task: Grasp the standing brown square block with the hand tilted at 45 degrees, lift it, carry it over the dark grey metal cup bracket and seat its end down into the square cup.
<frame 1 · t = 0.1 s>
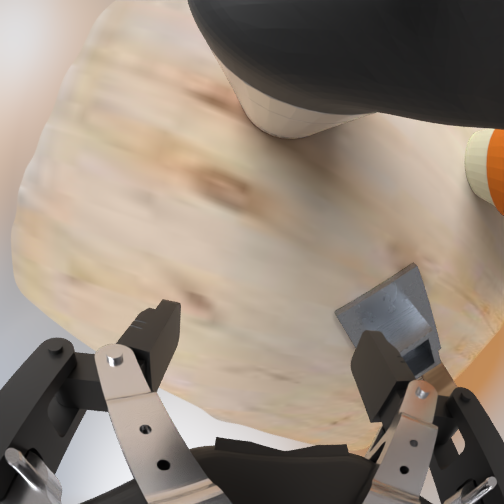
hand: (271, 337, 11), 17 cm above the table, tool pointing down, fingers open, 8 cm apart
reusable coffee cup: (486, 164, 23), on the table
brown square block: (430, 368, 34), on the table
cup bracket: (395, 331, 31), on the table
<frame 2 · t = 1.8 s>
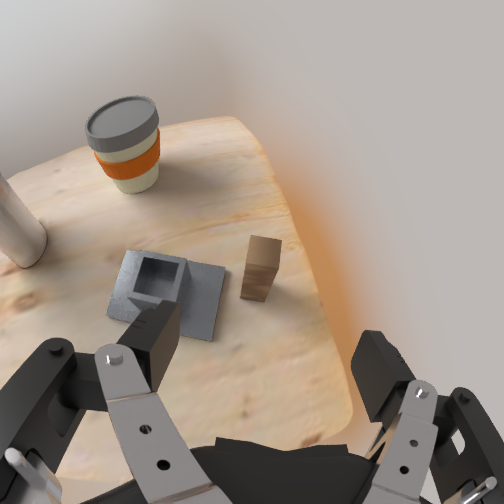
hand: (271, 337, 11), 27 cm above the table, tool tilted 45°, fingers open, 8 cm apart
reusable coffee cup: (137, 176, 49), on the table
brown square block: (253, 288, 41), on the table
cup bracket: (165, 294, 39), on the table
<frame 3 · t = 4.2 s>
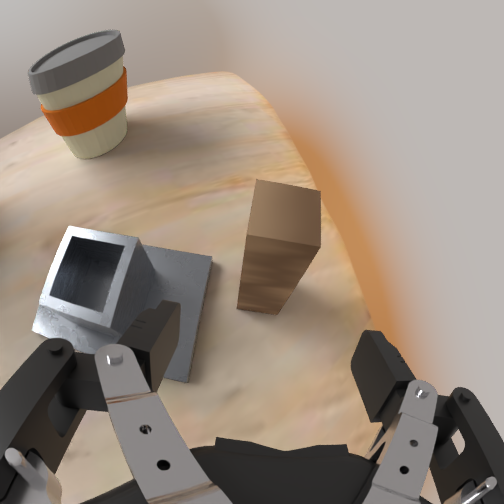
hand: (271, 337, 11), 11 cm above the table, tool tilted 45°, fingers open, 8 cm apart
reusable coffee cup: (99, 138, 33), on the table
brown square block: (259, 292, 24), on the table
cup bracket: (115, 300, 22), on the table
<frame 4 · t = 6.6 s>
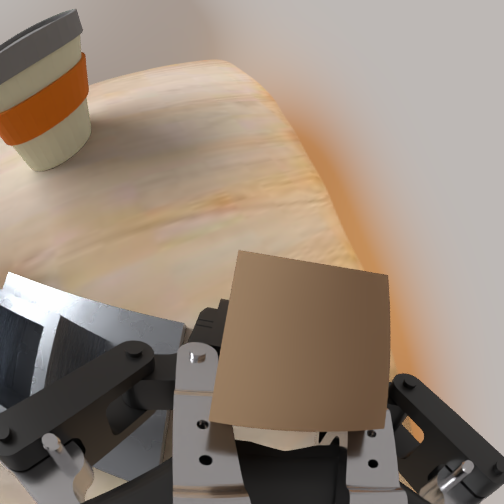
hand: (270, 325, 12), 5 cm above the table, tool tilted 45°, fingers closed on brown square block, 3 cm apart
reusable coffee cup: (59, 144, 24), on the table
brown square block: (254, 374, 16), on the table, touching gripper
cup bracket: (63, 372, 14), on the table
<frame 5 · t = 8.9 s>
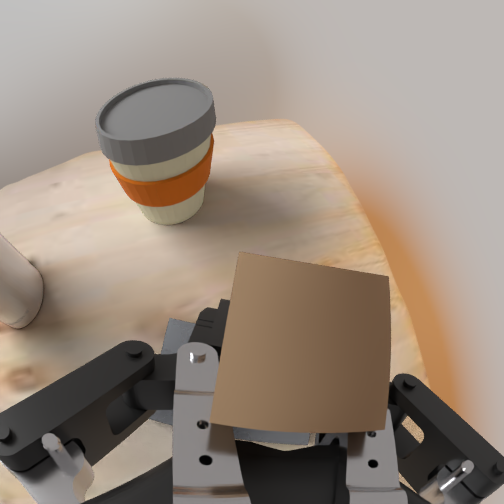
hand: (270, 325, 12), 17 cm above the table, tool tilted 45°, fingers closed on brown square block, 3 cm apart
reusable coffee cup: (171, 198, 36), on the table
brown square block: (254, 374, 16), point 12 cm above the table, touching gripper
cup bracket: (236, 385, 25), on the table
when the fingers open (10 cm above the table, at t = 11.0 s): brown square block drops 2 cm, resting on cup bracket.
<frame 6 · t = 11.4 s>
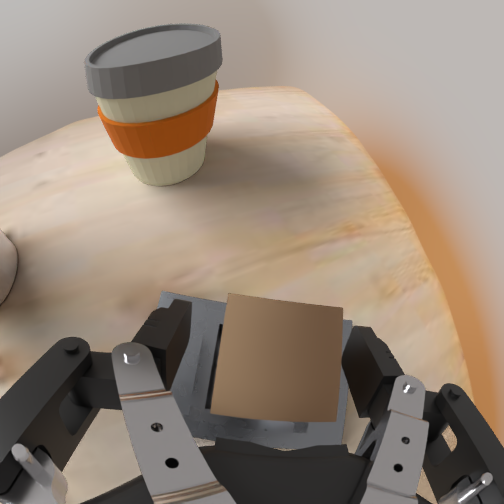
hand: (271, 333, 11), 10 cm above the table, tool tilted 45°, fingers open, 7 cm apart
reusable coffee cup: (167, 159, 30), on the table
brown square block: (248, 376, 18), point 3 cm above the table, touching cup bracket
cup bracket: (248, 377, 20), on the table
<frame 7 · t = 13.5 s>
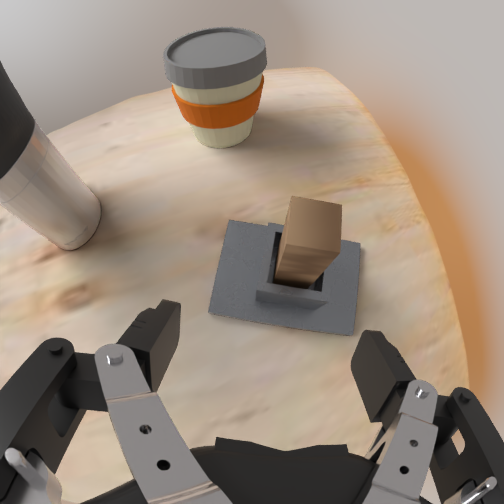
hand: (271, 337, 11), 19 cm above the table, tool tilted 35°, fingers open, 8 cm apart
reusable coffee cup: (222, 128, 39), on the table
brown square block: (290, 273, 29), point 2 cm above the table, touching cup bracket
cup bracket: (289, 278, 31), on the table
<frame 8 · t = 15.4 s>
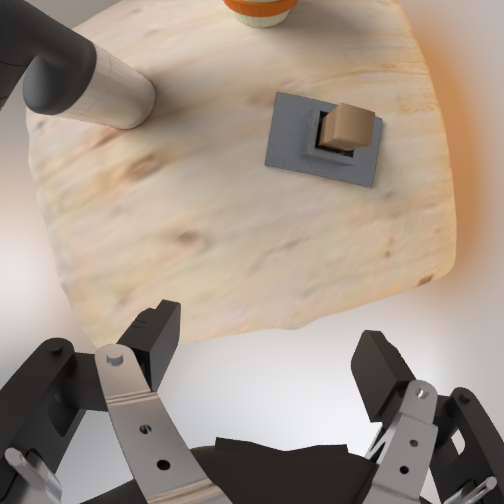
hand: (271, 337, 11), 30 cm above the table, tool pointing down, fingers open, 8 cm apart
reusable coffee cup: (260, 8, 30), on the table
brown square block: (328, 137, 34), point 2 cm above the table, touching cup bracket
cup bracket: (325, 139, 36), on the table
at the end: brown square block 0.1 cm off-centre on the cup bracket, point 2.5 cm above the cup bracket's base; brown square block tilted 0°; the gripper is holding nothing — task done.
